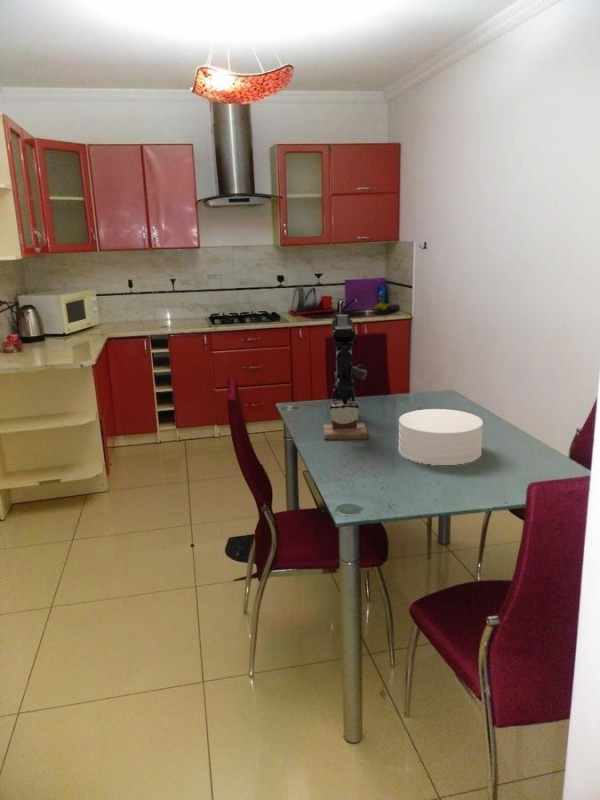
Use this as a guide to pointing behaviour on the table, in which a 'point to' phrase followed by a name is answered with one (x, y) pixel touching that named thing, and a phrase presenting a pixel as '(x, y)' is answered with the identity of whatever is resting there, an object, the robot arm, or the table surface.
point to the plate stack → (440, 436)
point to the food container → (344, 415)
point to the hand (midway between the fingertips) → (344, 401)
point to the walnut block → (345, 432)
